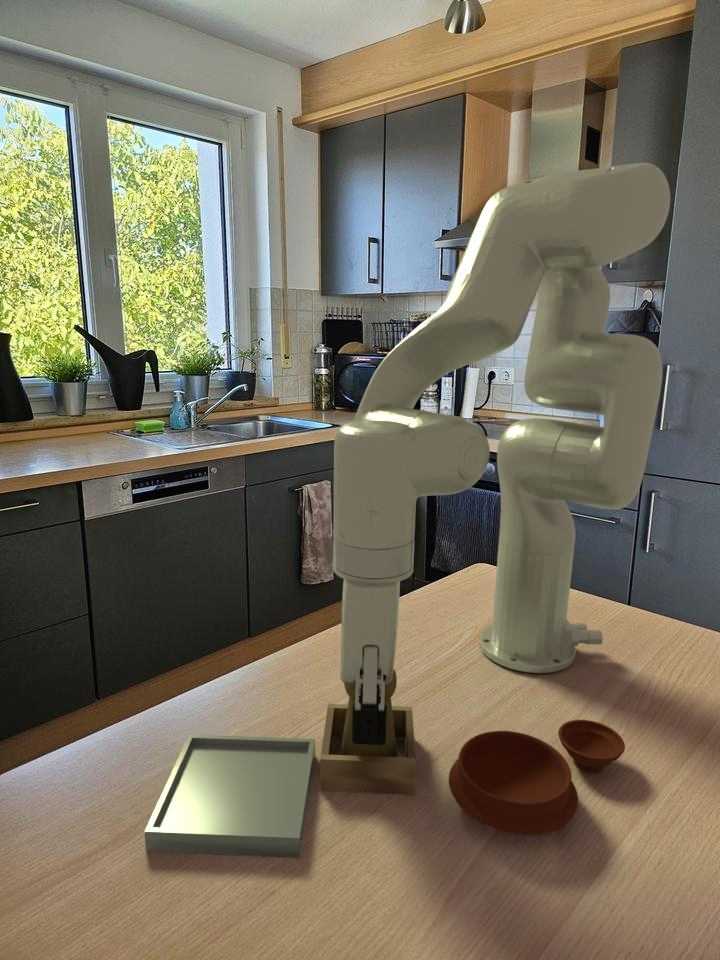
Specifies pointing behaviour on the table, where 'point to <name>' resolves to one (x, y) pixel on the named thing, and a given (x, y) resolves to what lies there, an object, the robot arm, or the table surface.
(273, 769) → the tray
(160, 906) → the table surface
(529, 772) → the pottery
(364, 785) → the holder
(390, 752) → the olive pawn
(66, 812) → the table surface
